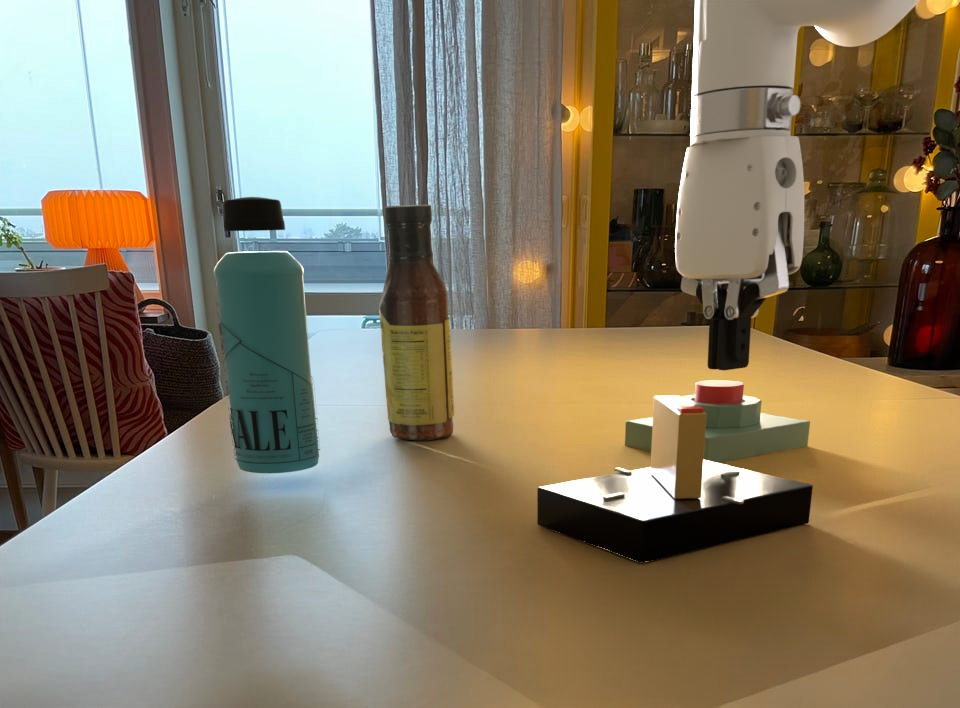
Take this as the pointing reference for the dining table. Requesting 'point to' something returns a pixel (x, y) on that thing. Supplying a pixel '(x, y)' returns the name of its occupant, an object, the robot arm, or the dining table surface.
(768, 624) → the dining table surface
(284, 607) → the dining table surface
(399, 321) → the sauce bottle
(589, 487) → the dial base
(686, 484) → the tan rectangular block
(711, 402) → the button
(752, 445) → the button block
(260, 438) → the beverage bottle
